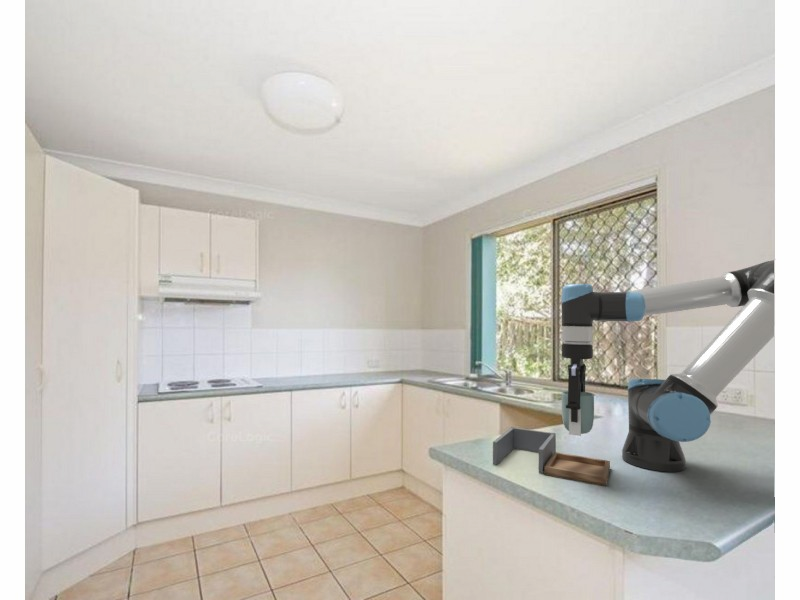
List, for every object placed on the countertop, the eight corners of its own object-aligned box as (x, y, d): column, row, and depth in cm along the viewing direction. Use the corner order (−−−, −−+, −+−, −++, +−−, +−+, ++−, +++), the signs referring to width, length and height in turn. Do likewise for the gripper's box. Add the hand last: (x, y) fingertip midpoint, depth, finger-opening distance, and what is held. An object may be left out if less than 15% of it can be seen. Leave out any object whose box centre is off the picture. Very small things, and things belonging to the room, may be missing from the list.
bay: (555, 454, 122) (555, 433, 122) (542, 473, 106) (542, 449, 106) (511, 446, 129) (511, 427, 129) (492, 464, 113) (492, 441, 113)
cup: (597, 437, 104) (597, 396, 104) (564, 435, 105) (564, 395, 106) (590, 429, 112) (589, 391, 112) (559, 427, 113) (559, 390, 114)
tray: (609, 468, 111) (609, 460, 111) (606, 486, 98) (605, 477, 99) (554, 459, 118) (554, 452, 118) (544, 474, 105) (544, 466, 106)
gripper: (567, 341, 120) (567, 421, 119) (554, 344, 103) (554, 438, 102) (596, 342, 117) (596, 424, 116) (588, 345, 99) (588, 443, 98)
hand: (577, 430), depth 109 cm, fingers closed on cup, 8 cm apart
